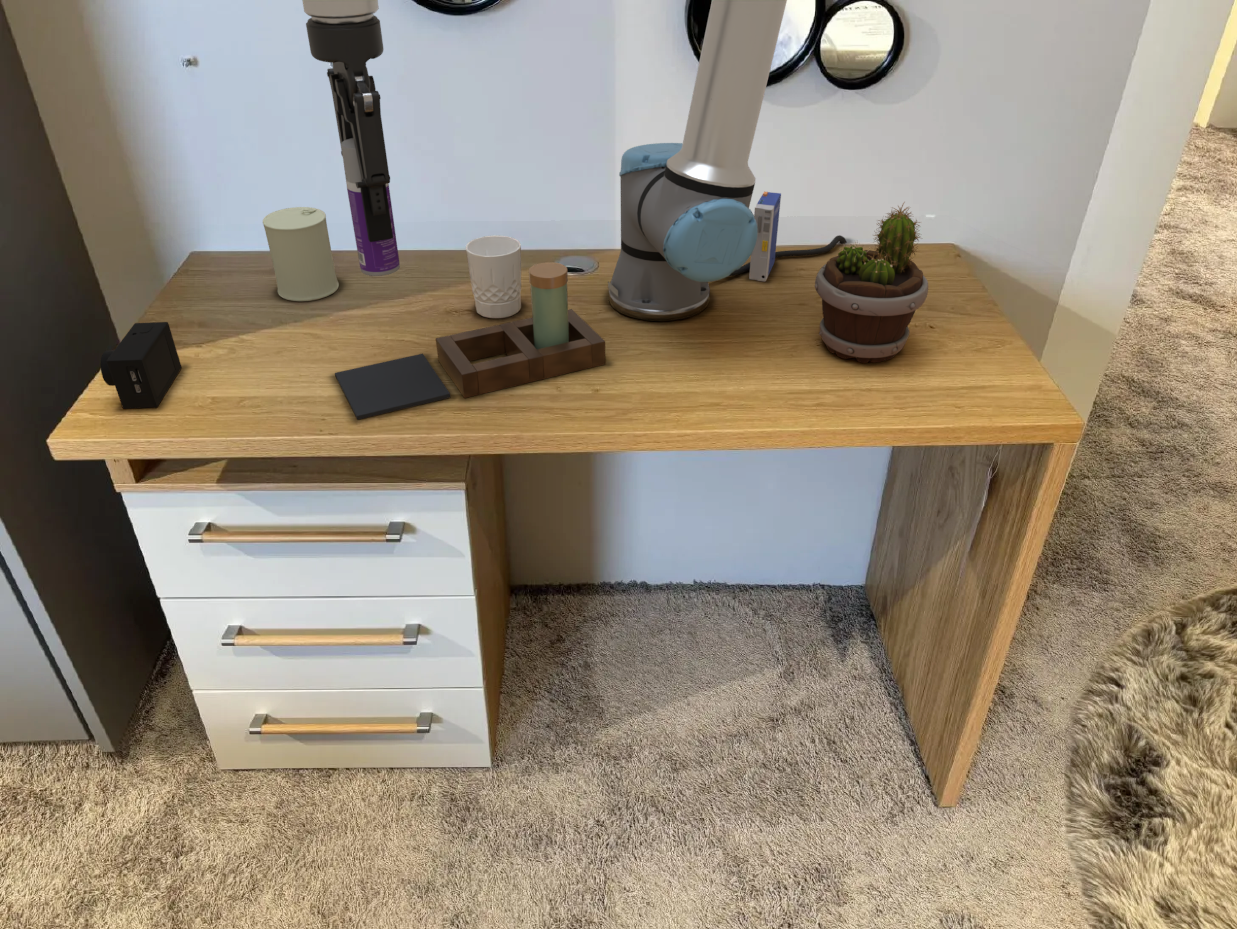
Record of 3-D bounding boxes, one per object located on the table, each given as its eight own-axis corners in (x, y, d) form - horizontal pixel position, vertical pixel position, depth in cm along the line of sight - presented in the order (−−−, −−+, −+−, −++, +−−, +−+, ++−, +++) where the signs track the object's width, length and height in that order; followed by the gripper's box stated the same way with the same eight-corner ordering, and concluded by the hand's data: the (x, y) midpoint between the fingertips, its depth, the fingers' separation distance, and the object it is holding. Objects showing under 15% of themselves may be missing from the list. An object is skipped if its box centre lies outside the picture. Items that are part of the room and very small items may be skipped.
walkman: (757, 260, 158) (764, 189, 151) (774, 262, 157) (781, 191, 150) (748, 279, 152) (754, 205, 145) (765, 281, 151) (772, 207, 144)
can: (351, 284, 150) (338, 210, 144) (306, 306, 144) (291, 230, 137) (310, 272, 155) (295, 199, 148) (265, 292, 148) (247, 217, 141)
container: (391, 277, 113) (372, 149, 104) (354, 274, 114) (332, 147, 105) (406, 262, 117) (389, 137, 108) (370, 259, 118) (350, 135, 109)
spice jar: (561, 344, 134) (558, 259, 127) (576, 359, 130) (573, 273, 123) (528, 351, 132) (523, 266, 125) (542, 367, 129) (537, 280, 121)
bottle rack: (572, 330, 137) (571, 308, 135) (605, 364, 129) (605, 341, 127) (438, 361, 130) (435, 338, 128) (464, 398, 122) (461, 374, 120)
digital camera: (140, 369, 129) (125, 322, 125) (182, 367, 129) (167, 320, 125) (113, 409, 120) (95, 360, 116) (157, 408, 120) (141, 359, 116)
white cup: (534, 303, 145) (530, 240, 139) (507, 324, 139) (502, 259, 133) (489, 294, 148) (484, 231, 142) (461, 314, 142) (455, 250, 136)
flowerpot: (852, 383, 125) (875, 236, 113) (786, 334, 136) (802, 196, 125) (939, 360, 130) (970, 217, 119) (869, 314, 141) (891, 180, 130)
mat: (423, 357, 131) (422, 353, 131) (450, 397, 122) (450, 393, 122) (335, 376, 127) (334, 372, 126) (357, 420, 118) (356, 416, 118)
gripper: (289, 5, 105) (326, 212, 118) (324, 34, 91) (361, 264, 105) (357, -1, 107) (386, 202, 121) (401, 28, 94) (428, 252, 108)
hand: (374, 230), depth 113 cm, fingers closed on container, 5 cm apart
